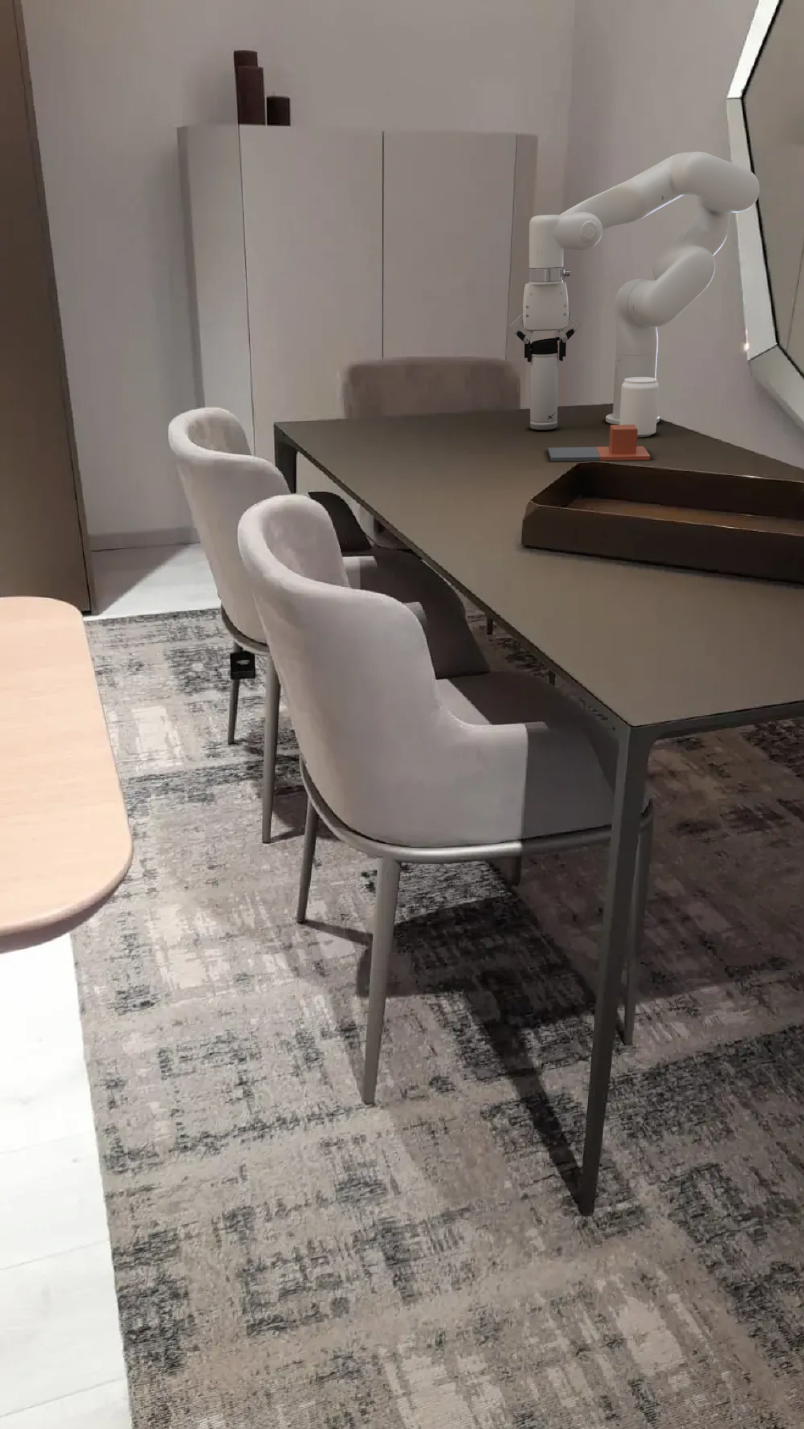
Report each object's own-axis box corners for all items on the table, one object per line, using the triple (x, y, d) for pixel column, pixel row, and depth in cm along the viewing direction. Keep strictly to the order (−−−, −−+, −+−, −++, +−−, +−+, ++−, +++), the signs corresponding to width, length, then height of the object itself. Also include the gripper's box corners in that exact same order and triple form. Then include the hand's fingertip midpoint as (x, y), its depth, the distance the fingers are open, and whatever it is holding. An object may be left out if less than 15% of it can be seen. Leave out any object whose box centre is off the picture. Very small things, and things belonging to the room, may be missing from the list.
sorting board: (547, 451, 234) (548, 447, 233) (643, 450, 232) (643, 446, 232) (550, 461, 225) (551, 457, 224) (650, 460, 223) (650, 456, 223)
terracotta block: (608, 449, 230) (610, 425, 228) (633, 448, 230) (634, 424, 228) (611, 454, 226) (612, 429, 224) (636, 453, 225) (637, 429, 223)
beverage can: (644, 430, 252) (647, 375, 247) (662, 436, 245) (666, 380, 240) (612, 432, 250) (615, 378, 245) (629, 439, 243) (633, 383, 238)
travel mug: (557, 430, 253) (559, 339, 244) (528, 430, 254) (529, 339, 246) (559, 425, 258) (561, 335, 250) (531, 425, 260) (531, 336, 251)
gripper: (584, 273, 245) (581, 357, 253) (506, 277, 246) (506, 360, 254) (587, 276, 238) (584, 361, 246) (506, 279, 240) (507, 364, 247)
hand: (544, 360), depth 250 cm, fingers closed on travel mug, 6 cm apart
